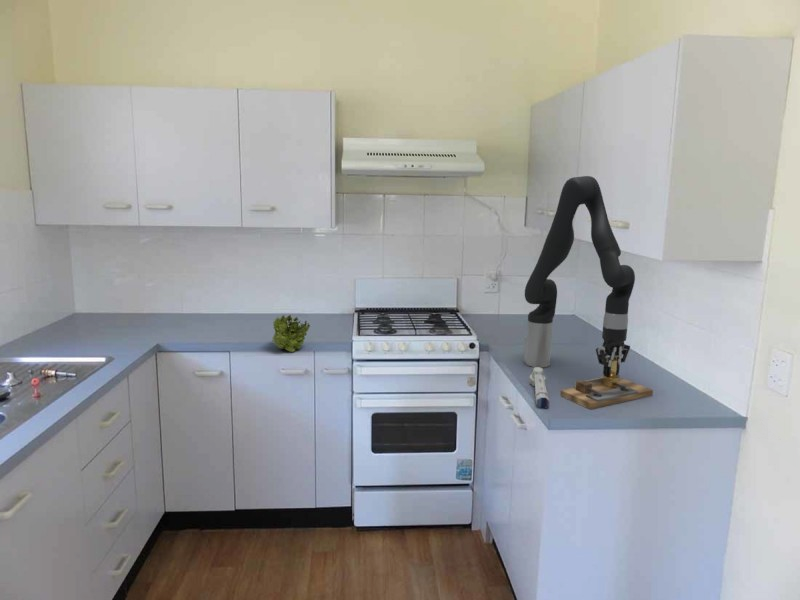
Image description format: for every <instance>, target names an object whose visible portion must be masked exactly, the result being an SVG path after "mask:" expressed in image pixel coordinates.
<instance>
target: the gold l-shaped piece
mask: <svg viewBox="0 0 800 600" xmlns="http://www.w3.org/2000/svg"><path fill="white" fill-rule="evenodd" d="M607 362H608V359H607ZM610 367H611V372H610V377H605V376H604V375H602V377H603V380H602V384H603V385H606V386H608V387H611V388H613V387H620V388H623V389H625V387H626V386H624V385H621V384H619V383H618V380H619V379H620V377H619V378H618V377H616V370H617V358H616V359H613V360H612V362H611V366H610Z"/></svg>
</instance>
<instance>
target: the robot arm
mask: <svg viewBox="0 0 800 600" xmlns="http://www.w3.org/2000/svg"><path fill="white" fill-rule="evenodd" d="M604 202H605V201H604V198H603V193H602V189H601V187H600V184H599V181H598V180H597V179H596V178H595V177H593V176H590V175H586V176H585V175H583V176H575V177H571V178H568V179H567V180H566V181H565V183H564V185H563V187H562V189H561V192H560V196H559V200H558V203H557V208H556V211H555V215H554V217H553V220H552V223H551V226H550V228H549V231H548V232H547V235H546V238H545V241H544V243H543V247H542V248H541V249H542V250H541V252H540V255H539V257H538V260H537V262H536V264H535V267H534V269H533V270H532V273H531V274H530V277H529V278H528V280H527V283H526V285H525V289H524V299H525V301H526V302H527V303H528V304H530V305H537V307H536V308H534V309H533V310H531V311H530V312H528V314H527V328H526V329H527V330H526V331H527V333H526V338H524V354H523V363H525V365H526V366H529V367H532V368H535V367H540V368H542V369H543V368H548V367H550V364H551V351H552V338H553V337H552V335H553V322H554V321H553V320H554V317H555V315H556V307H557V301H558V300H557V298H558V287H557V284H556V282H555V281H554V280H552V279H550V278H549V277H550V275H551V274H552V273H553V272H554V271H555V270H556V269H557V268H558V267H559V266H561V264H562V263H563V262H564V261H565V260H566V259H567V258H568V256H569V253H570V252H571V250H572V247H573V244H574V241H575V231H574V227H573V223H574V218H575V215H576V212H577V211H578V208H579V206H581V205H585V207H586V209H587V210H588V213H589V216H590V221H591V222H590V223H591V224H590V225H591V226H590V237H591V242H592V245H593V247H594V249H595V251H596V254H597V256H598V258H599V265H600V270H601V271H600V272H601V274H602V278H603V280H604V282H605V283H606V285H607V286H608V287H609V288H612V289H611V293H609V294H608V295H607V296H606V299H605V307H604V308H605V309H604V314H603V315H604V316H603V322H602V323H603V324H602V332H601V334H602V335H601V337H602V339H603V343H602V346H601V347H597V348H596V349H595V352H596V356H597V361H598V364H600V365H602V366H603V371H602V374H603V375H602V376H605V377H610V372H611V367H610V366H611V362H612V360H613V359H617V370H616V376H617V375H619V373H620V366H621V364H622V363H625V362H626V359H627V357H628V354H629V352H630V349H631V346H630V345H628V344H625V342H626V341H627V336H628V324H629V318H628V317H629V307H630V306H629V304H630V303H629V302H630V298H631V296H632V293H633V290H634V286H635V281H636V274H635V271H634V269H633V268H632V267H631V266H630V265H627V264H621V263H620V258H619V257H620V256H621V254H622V250H621V247H620V245H619V244H618V241H617V239H616V237H615V235H614V232H613V230H612V227H611V225H610V221H609V218H608V213H607V211H606V206H605V203H604ZM607 359H608V362H607Z"/></svg>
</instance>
